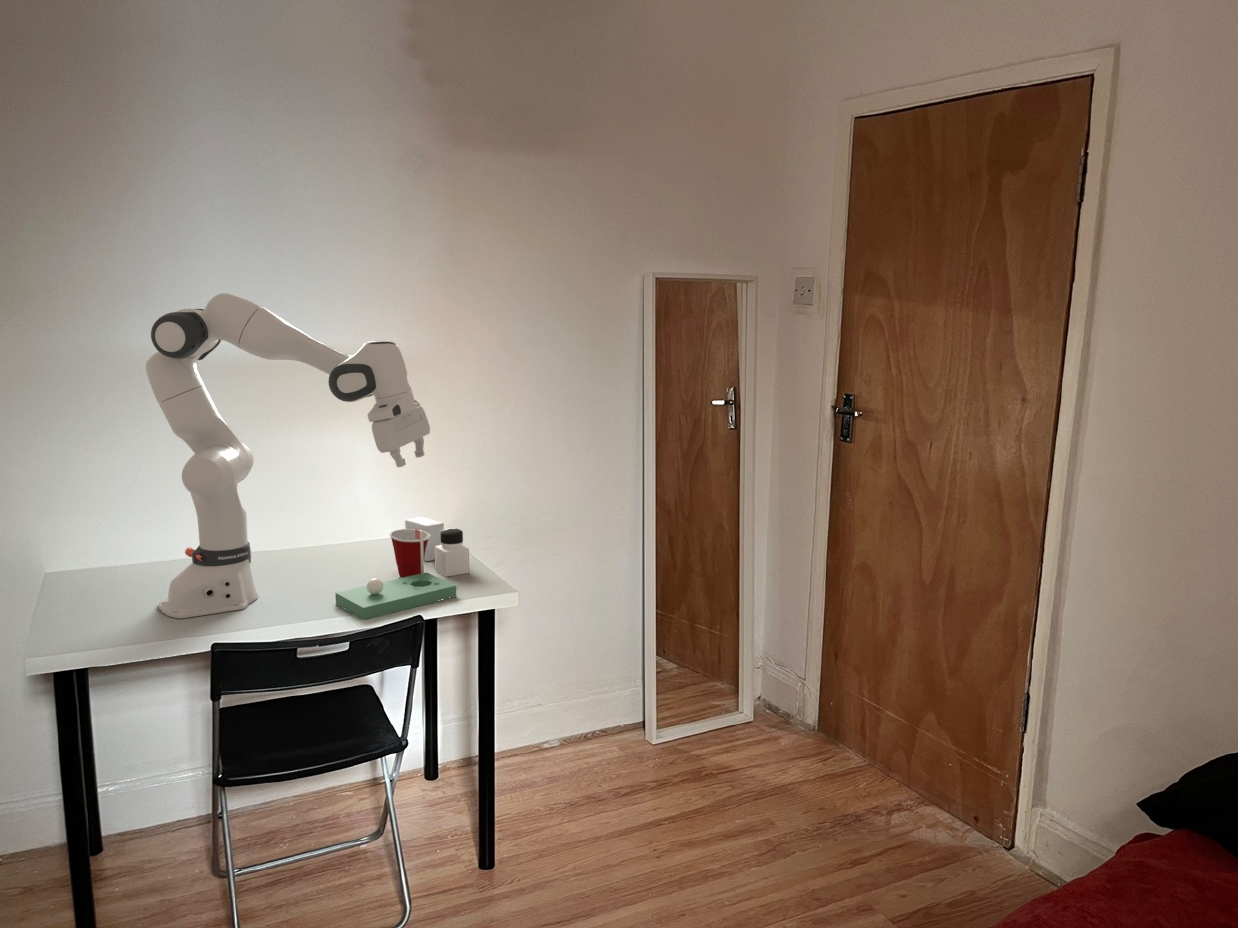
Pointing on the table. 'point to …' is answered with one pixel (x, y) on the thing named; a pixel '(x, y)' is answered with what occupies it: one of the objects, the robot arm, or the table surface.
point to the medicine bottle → (451, 553)
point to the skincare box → (429, 527)
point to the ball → (374, 586)
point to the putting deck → (397, 593)
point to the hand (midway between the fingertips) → (411, 461)
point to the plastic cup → (408, 551)
